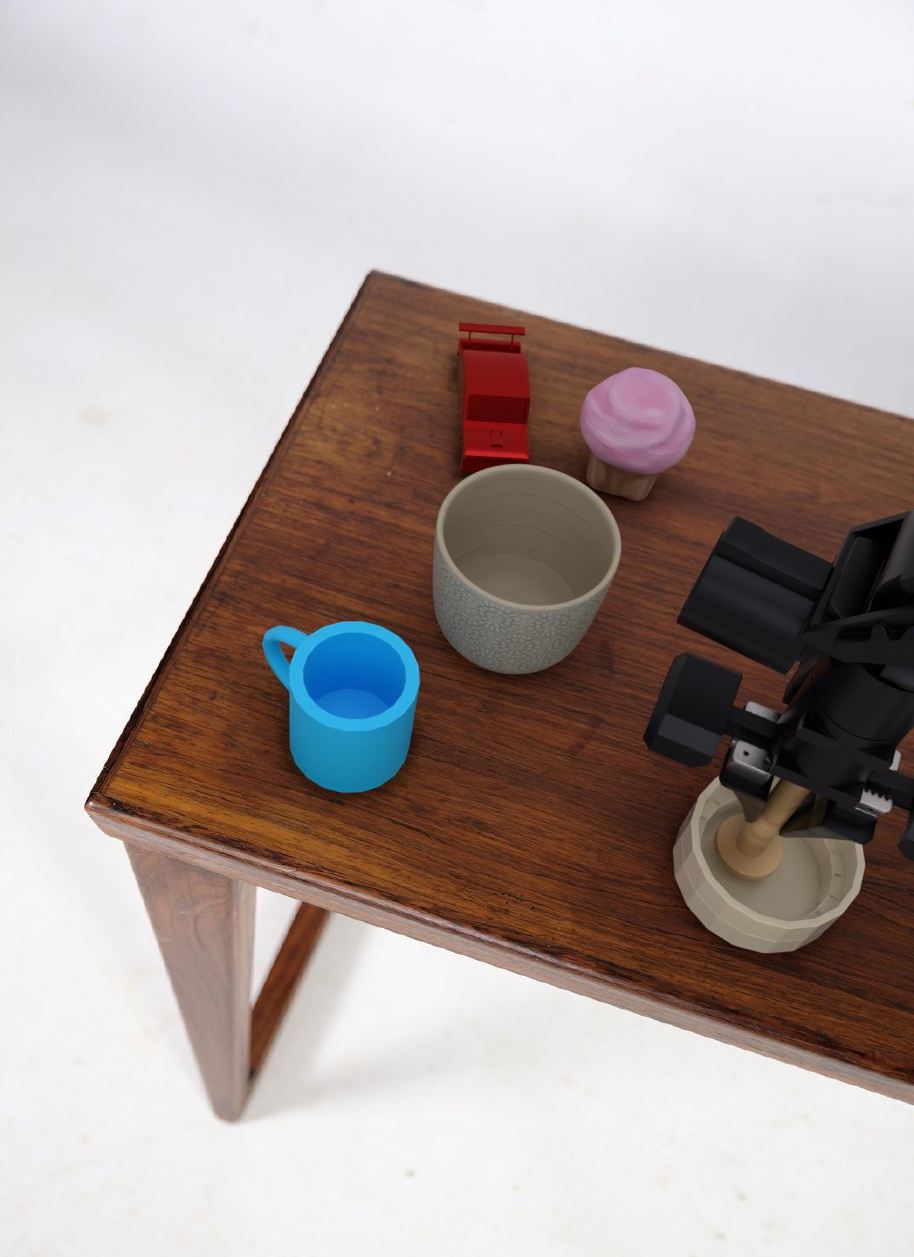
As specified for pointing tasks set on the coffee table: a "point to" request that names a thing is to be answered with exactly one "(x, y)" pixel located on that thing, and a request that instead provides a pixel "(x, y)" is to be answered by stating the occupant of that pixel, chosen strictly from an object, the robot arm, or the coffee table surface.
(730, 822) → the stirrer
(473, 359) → the toy car
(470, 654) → the planter
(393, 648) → the mug
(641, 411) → the cupcake
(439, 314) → the coffee table surface
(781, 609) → the robot arm
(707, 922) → the bowl
